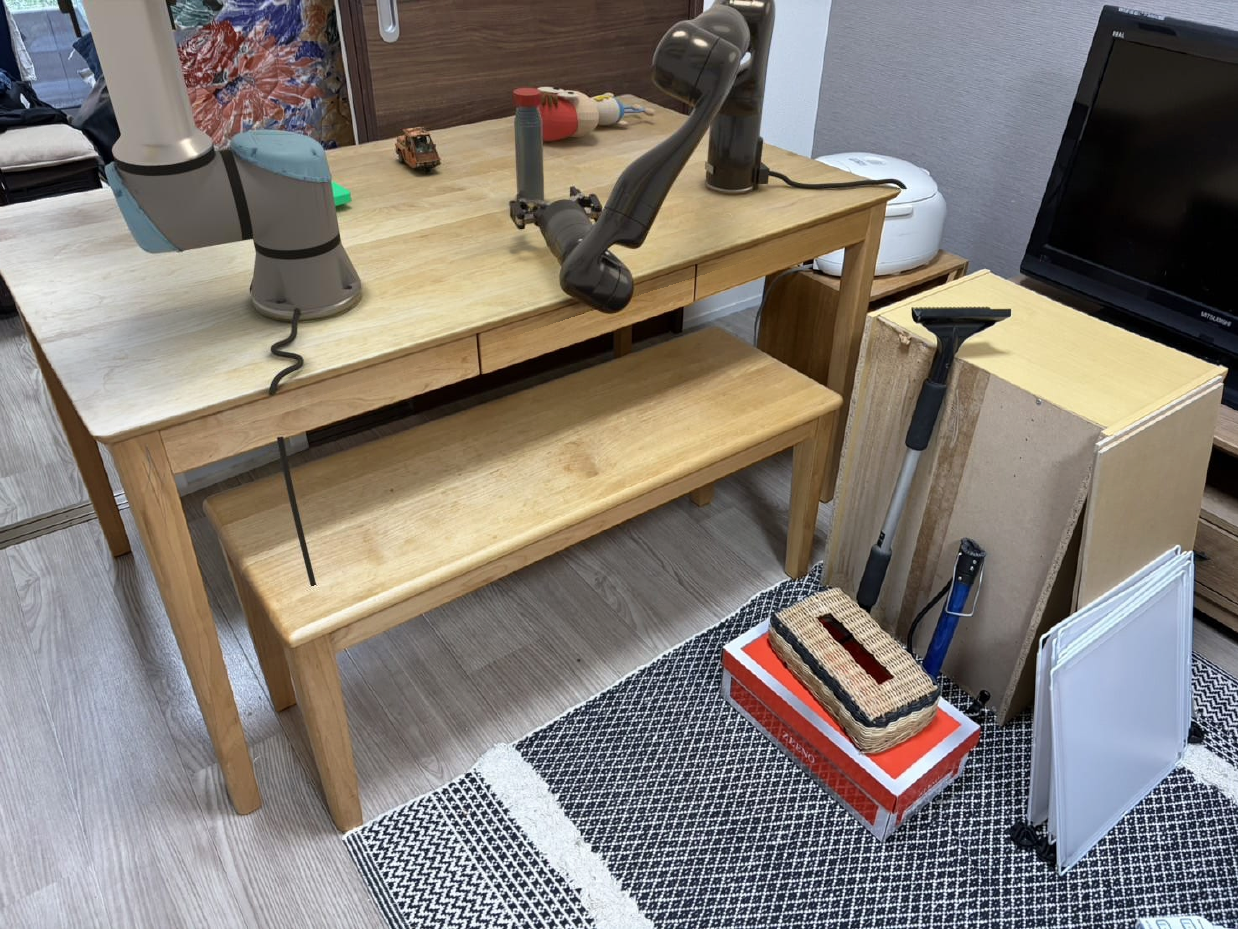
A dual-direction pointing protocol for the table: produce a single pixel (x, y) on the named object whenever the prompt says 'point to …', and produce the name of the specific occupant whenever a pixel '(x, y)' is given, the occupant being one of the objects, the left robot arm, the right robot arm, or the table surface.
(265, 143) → the left robot arm
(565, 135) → the toy
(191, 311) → the table surface
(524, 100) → the cap
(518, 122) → the bottle
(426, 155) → the toy car
